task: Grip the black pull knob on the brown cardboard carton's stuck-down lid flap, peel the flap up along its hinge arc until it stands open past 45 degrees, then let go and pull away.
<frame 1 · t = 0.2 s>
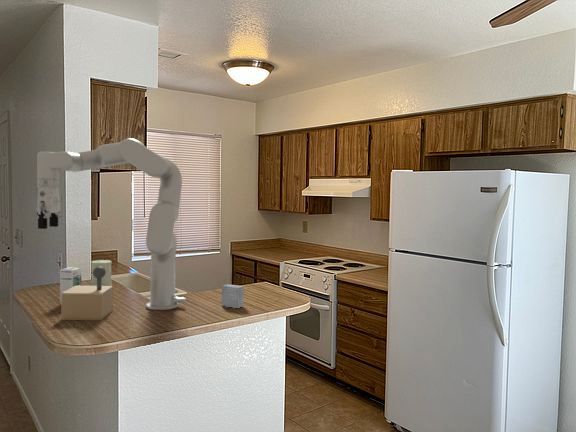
hand: (48, 227, 186), 31 cm above the table, tool pointing down, fingers open, 9 cm apart
carton: (88, 315, 176), on the table
medicine box: (232, 307, 194), on the table
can: (101, 285, 228), on the table
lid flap: (88, 278, 175), point 14 cm above the table, hinge at 0.0°
syrup box: (70, 304, 192), on the table
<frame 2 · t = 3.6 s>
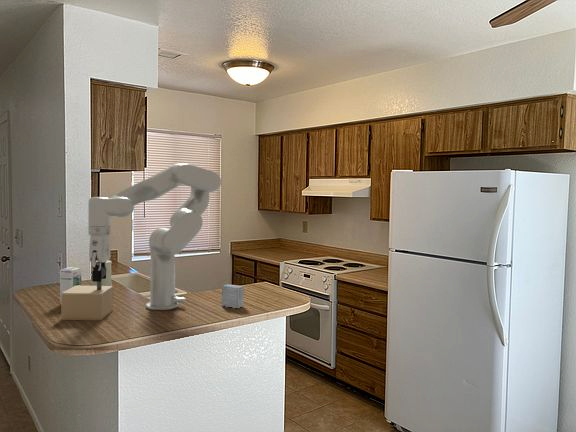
hand: (99, 279, 176), 13 cm above the table, tool pointing down, fingers closed on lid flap, 4 cm apart
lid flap: (88, 278, 175), point 14 cm above the table, hinge at 0.0°, touching gripper
everything else where it was.
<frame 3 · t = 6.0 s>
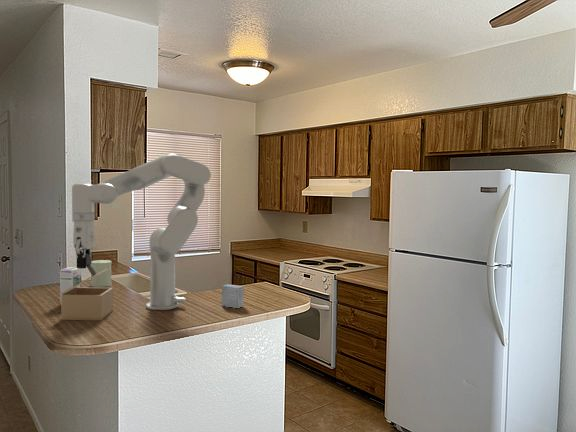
hand: (84, 266, 175), 18 cm above the table, tool pointing down, fingers closed on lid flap, 4 cm apart
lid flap: (79, 270, 175), point 16 cm above the table, hinge at 30.0°, touching gripper
everything else where it was.
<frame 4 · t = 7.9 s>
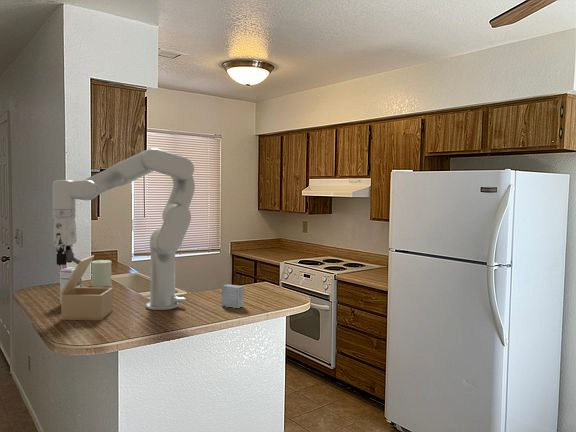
hand: (64, 263, 175), 19 cm above the table, tool pointing down, fingers closed on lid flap, 4 cm apart
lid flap: (67, 268, 175), point 17 cm above the table, hinge at 59.6°, touching gripper
everything else where it was.
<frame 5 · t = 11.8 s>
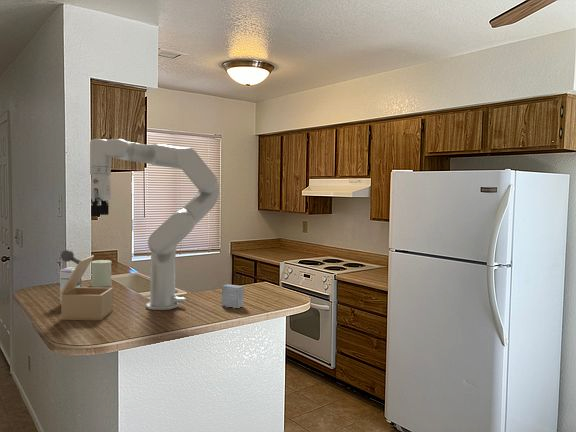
hand: (100, 215, 186), 36 cm above the table, tool pointing down, fingers open, 9 cm apart
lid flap: (67, 268, 175), point 17 cm above the table, hinge at 59.8°
everything else where it was.
at the end: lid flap at +60° (first picture: +0°); the gripper is holding nothing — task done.
